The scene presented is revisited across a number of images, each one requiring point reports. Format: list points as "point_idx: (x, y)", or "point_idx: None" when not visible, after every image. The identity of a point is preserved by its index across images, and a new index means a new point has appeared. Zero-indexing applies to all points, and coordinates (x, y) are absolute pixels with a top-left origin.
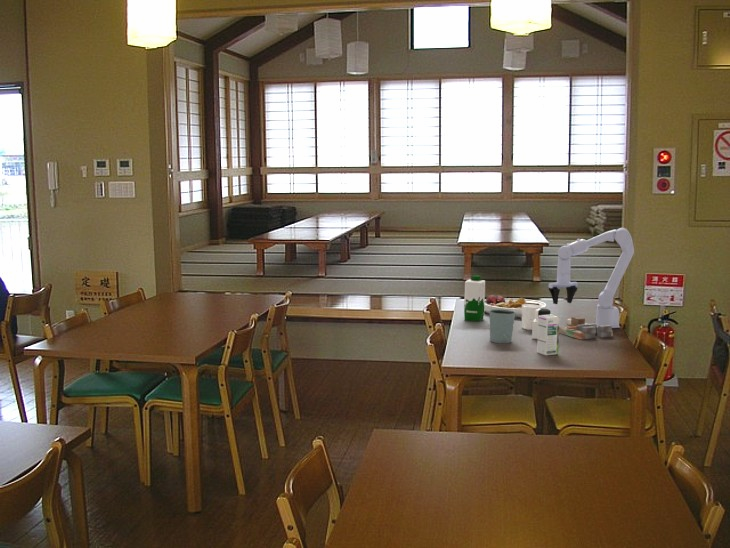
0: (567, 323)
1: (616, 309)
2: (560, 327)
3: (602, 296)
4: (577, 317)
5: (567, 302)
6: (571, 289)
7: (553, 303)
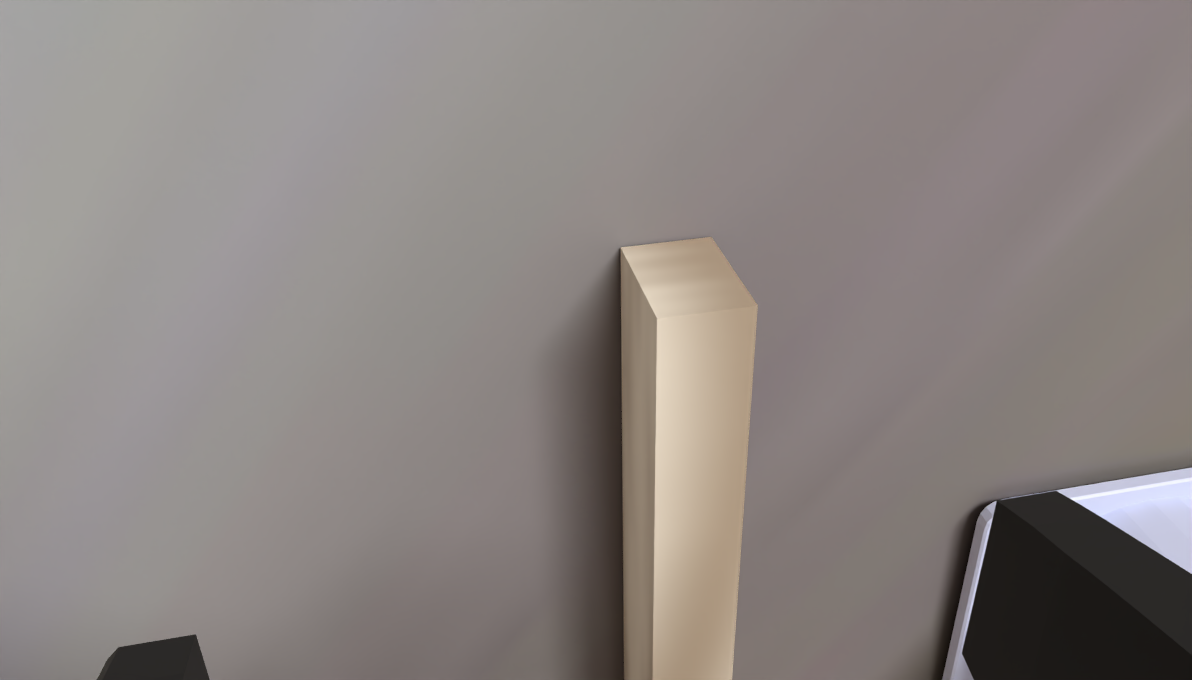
0: (625, 283)
1: None
2: None
3: None
4: None
5: (999, 507)
6: None
7: (109, 665)
